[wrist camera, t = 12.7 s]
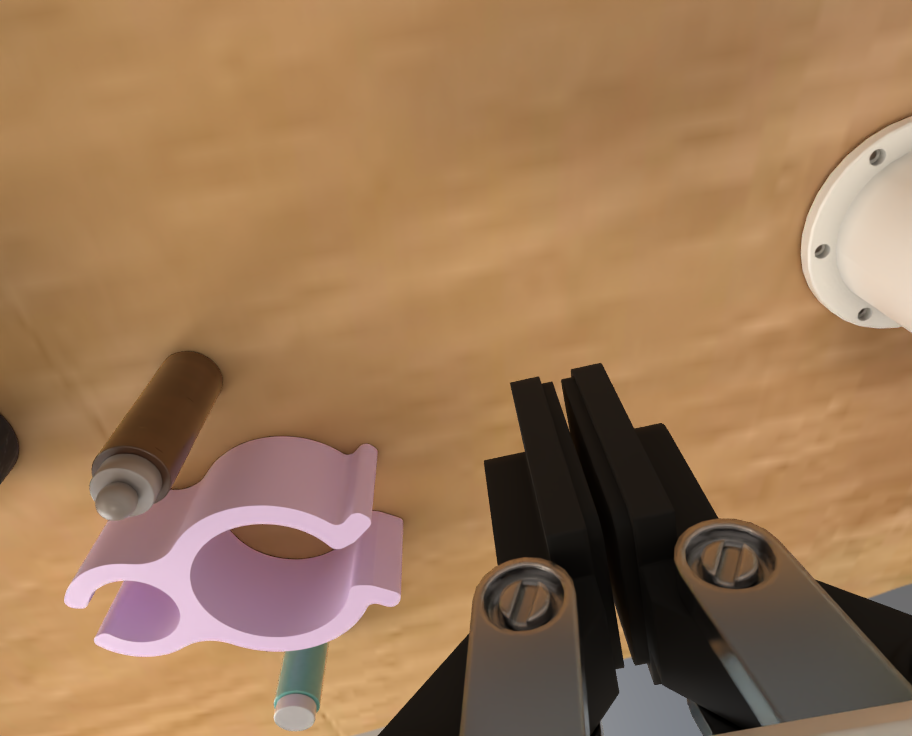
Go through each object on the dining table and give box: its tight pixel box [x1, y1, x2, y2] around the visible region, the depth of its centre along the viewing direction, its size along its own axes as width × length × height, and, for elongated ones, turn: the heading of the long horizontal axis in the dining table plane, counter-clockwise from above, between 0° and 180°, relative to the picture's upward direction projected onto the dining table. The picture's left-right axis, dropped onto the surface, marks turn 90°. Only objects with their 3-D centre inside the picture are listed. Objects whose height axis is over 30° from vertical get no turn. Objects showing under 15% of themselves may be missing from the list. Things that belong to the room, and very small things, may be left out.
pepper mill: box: [90, 351, 223, 521], centre depth 36 cm, size 4×4×13 cm
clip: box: [64, 436, 403, 657], centre depth 44 cm, size 20×12×7 cm, turn 103°
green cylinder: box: [274, 642, 329, 731], centre depth 49 cm, size 3×3×8 cm
